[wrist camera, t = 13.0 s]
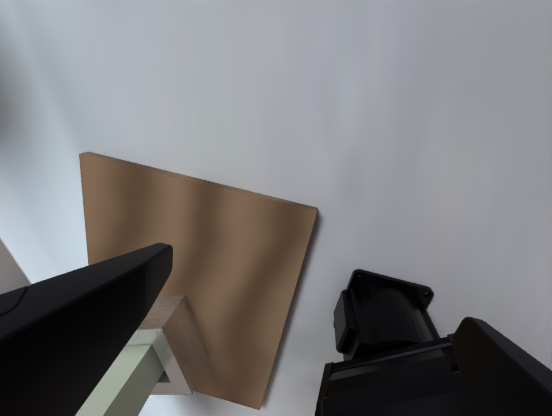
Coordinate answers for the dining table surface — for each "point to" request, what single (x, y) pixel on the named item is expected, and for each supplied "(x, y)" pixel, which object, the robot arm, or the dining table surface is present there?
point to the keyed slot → (173, 345)
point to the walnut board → (207, 259)
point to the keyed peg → (125, 383)
